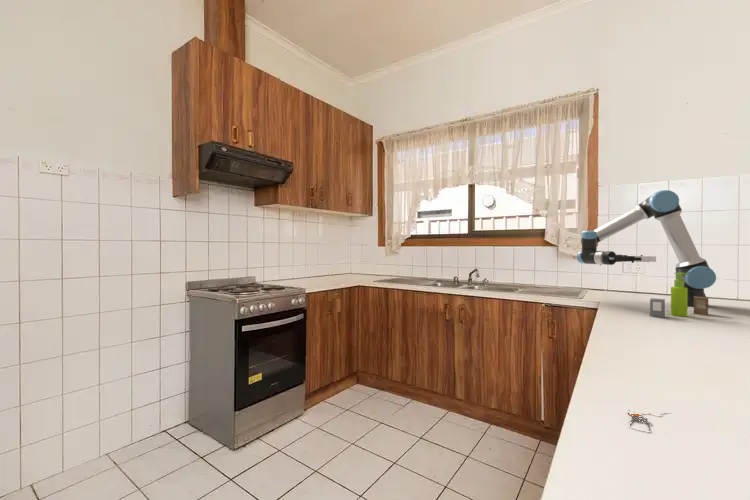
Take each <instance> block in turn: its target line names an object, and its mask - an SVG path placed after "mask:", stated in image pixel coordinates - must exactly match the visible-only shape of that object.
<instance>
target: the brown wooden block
mask: <svg viewBox="0 0 750 500" xmlns="http://www.w3.org/2000/svg"><path fill="white" fill-rule="evenodd" d="M693 314H694V315H699V316H709V297H708V296H706V297H697V296H694V306H693Z"/></svg>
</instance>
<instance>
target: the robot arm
mask: <svg viewBox="0 0 750 500" xmlns="http://www.w3.org/2000/svg"><path fill="white" fill-rule="evenodd" d="M682 212H683V210H682V208H681V206H680V198H679V196H678V194H677V193H676V192H674V191H672V190H668V189H667V190H666V189H665V190H664V189H663V190H659V191H656V192H653V194H651V195H650V196H649V197H647V198H646V199H645V200H644V201H642V202H640V203H639V204H637V205H636V207H634V208H633V209H631V210H629V211H628V212H625V213H623V214H622V215H620V216H619V217H616V218H615V219H613V220H611V221H609V222H607V223H604V225H602V226H600V227H598V228H596V229H594V230H583V231H581V238H580V243H581V251H578V252H577V255H576V260H577V262H578V263H580V264H585V265H599V266H602V265H605V266H606V265H608V266H613V265H615V264H616V263H621V262H622V263H623V262H626V263H627V262H631V263H635V262H637V263H639V262H640V263H650V262H651V263H656V262H657V256H652V255H650V256H647V255H643V254H640V255H631V256H630V255H627V254H626V255H625V254H617V253H616V252H614V251H612V250H611V251H610V250H609V251H608V250H607V251H605V250H597V248H598V247H597V244H598V243H600V242H601V241H604V240H605V239H607V238H608V239H609V238H610V237H612V236H613V235H616V234H617V233H619V232H622V231H623V230H625V229H627V228H629V227H632V226H633V225H635V224H637V223H639V222H640V221H642V220H648V219H651V218H653V217H654V219H655V220H657V221H659V222H660V224H661V226H662V228H663V230H664V233H665V235H666V237H667V239H668V241H669V243H670V245H671V247H672V250H673V251H674V253H675V256H676V258H677V260H678V263H676V264H675V273H688V274H689V275H685V274H682V277H681V279H682V280H684V287H686V288H687V307H694V296H697V297H707V295H706V294H705V289H708V288H710V287H712V286H714V284H715V283H716V280H717V274H716V273H715V271H714V270H713V269H712V268H711V267H710V266H709V264H708V262H707V260H706V259H705V258H704V257H703V258H702V257H701V256H700V254H699V251H698V250H697V247H696V246H695V243H694V241H693V240H692V238H691V237H692V236H691V235H690V233H689V231H688V229H687V227H686V224H685V222H684V220H683V219H682V216H681V214H682ZM676 279H677V274H675V280H676Z"/></svg>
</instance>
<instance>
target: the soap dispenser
mask: <svg viewBox="0 0 750 500" xmlns="http://www.w3.org/2000/svg"><path fill="white" fill-rule="evenodd" d="M676 274H677V279H676V278H675V279H674V280H673V281H674V282H673V283H674V284H673V286H670V315H671V316H674V317H688V306H687V288H686V287H684V280H682V279H681V277H682V274H685V275H689V274H688V273H676V272H674V274H673V275H676Z"/></svg>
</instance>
